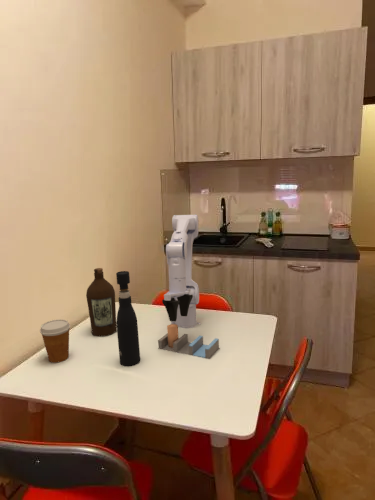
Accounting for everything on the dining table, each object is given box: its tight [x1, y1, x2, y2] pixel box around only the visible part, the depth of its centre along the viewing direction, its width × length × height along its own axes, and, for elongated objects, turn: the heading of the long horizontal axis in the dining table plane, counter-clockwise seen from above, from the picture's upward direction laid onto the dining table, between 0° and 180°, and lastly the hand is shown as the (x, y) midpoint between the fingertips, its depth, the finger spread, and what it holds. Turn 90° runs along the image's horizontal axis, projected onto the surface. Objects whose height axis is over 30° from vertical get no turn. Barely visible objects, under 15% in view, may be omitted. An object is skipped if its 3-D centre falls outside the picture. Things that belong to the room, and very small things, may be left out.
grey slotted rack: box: [157, 332, 220, 360], centre depth 125 cm, size 19×8×4 cm, turn 62°
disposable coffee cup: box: [39, 319, 71, 364], centre depth 124 cm, size 10×10×12 cm
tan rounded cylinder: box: [166, 323, 180, 348], centre depth 127 cm, size 4×4×7 cm
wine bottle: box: [115, 270, 141, 367], centre depth 116 cm, size 6×6×30 cm
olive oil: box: [86, 267, 117, 337], centre depth 143 cm, size 11×11×25 cm
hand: (178, 318), depth 125 cm, fingers open, 7 cm apart
